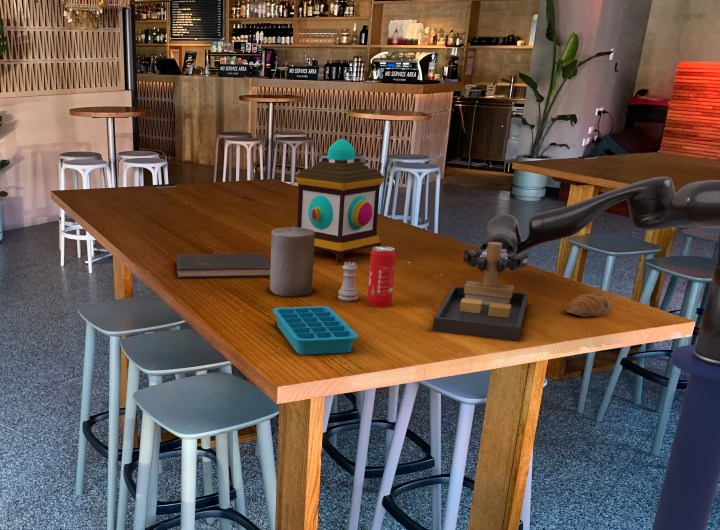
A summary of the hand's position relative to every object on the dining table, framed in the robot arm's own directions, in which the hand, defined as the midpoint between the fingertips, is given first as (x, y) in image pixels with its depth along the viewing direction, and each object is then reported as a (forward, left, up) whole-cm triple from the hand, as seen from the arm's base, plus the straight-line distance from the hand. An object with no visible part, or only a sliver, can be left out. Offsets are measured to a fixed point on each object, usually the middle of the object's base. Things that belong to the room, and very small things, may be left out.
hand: (490, 267), depth 163 cm
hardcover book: (+55, +35, -9) cm, 66 cm away
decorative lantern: (+57, 0, -9) cm, 57 cm away
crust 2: (-6, +2, -8) cm, 10 cm away
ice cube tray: (0, +43, -9) cm, 44 cm away
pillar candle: (+30, +30, -9) cm, 43 cm away
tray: (-4, +5, -9) cm, 11 cm away
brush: (+2, -2, -8) cm, 9 cm away
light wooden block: (-1, +5, -8) cm, 10 cm away
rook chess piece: (+19, +22, -9) cm, 30 cm away
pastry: (-11, -17, -9) cm, 23 cm away
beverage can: (+13, +18, -9) cm, 24 cm away
